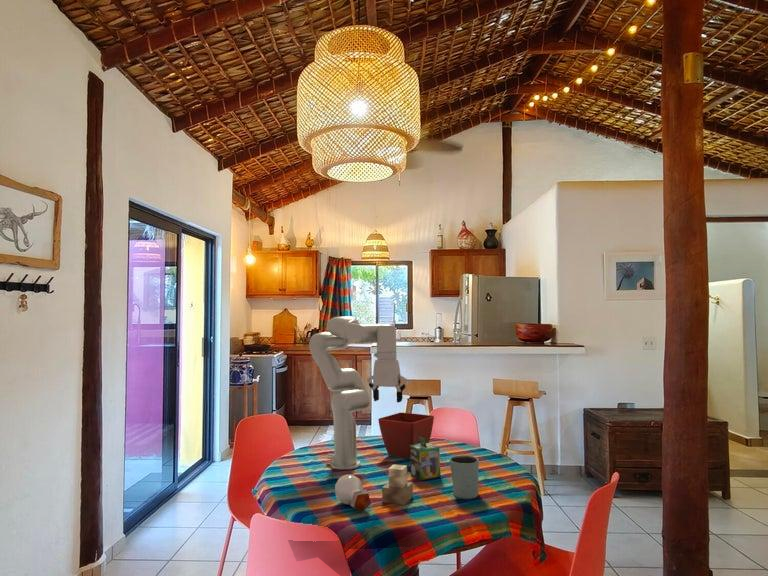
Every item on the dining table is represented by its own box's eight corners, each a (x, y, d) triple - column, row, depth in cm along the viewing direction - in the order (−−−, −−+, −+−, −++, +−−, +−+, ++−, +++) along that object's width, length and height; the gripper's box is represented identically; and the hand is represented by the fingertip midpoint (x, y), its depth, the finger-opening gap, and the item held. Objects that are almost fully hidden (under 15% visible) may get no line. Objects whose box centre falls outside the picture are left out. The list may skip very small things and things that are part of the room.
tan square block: (382, 502, 165) (382, 487, 165) (392, 494, 172) (391, 480, 172) (404, 505, 161) (403, 490, 162) (413, 497, 169) (412, 482, 169)
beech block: (388, 486, 166) (388, 468, 166) (393, 481, 170) (393, 464, 171) (402, 488, 164) (402, 469, 164) (407, 483, 169) (406, 465, 169)
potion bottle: (345, 501, 169) (365, 521, 157) (324, 490, 165) (343, 509, 152) (359, 477, 172) (380, 495, 159) (339, 465, 168) (360, 482, 155)
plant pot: (401, 447, 235) (400, 411, 236) (435, 452, 224) (434, 415, 225) (377, 456, 219) (377, 418, 220) (413, 463, 208) (412, 423, 209)
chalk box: (441, 477, 189) (440, 438, 189) (419, 480, 185) (418, 441, 186) (430, 470, 197) (429, 433, 198) (409, 473, 194) (408, 436, 195)
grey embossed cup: (473, 501, 163) (472, 464, 164) (445, 496, 168) (444, 460, 169) (484, 492, 172) (482, 457, 173) (457, 487, 177) (456, 453, 178)
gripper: (362, 356, 188) (363, 401, 187) (403, 357, 181) (404, 404, 179) (371, 355, 195) (372, 398, 194) (411, 355, 187) (412, 400, 186)
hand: (387, 401), depth 187 cm, fingers open, 9 cm apart
